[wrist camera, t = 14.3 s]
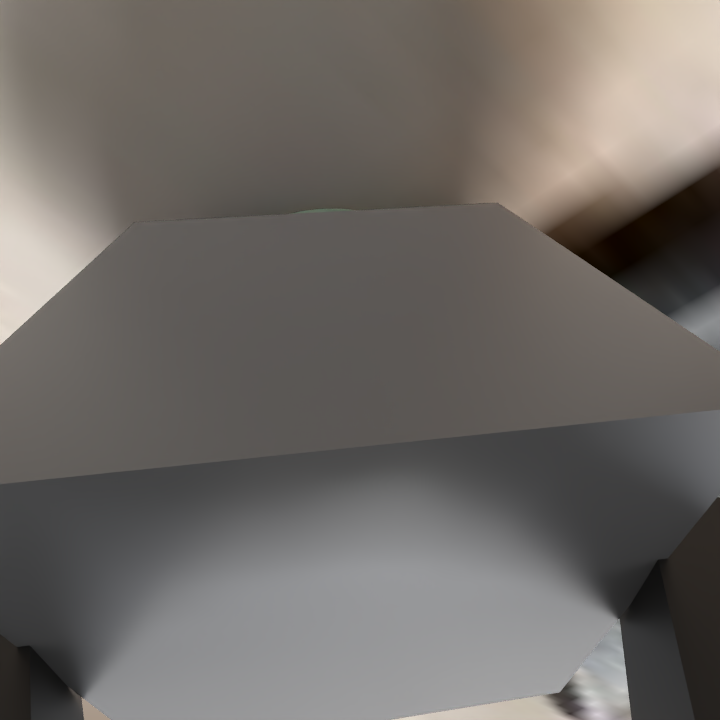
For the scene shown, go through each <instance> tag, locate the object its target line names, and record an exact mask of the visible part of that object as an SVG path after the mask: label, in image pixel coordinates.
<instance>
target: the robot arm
mask: <svg viewBox="0 0 720 720" xmlns="http://www.w3.org/2000/svg"><path fill="white" fill-rule="evenodd" d="M620 624H621V632H622V641H623V649H624V658H625V666H626V675H627V683H628V692H629V700H630V709H631V717H632V720H720V498H719V497H717V498H716V500H715V501H714V502H713V503H712V504H711V506H710V507H709V508H708V509H707V511H706V512H705V513H704V514H703V516H702V517H701V518H700V519H699V521H698V522H697V523H696V524H695V525H694V527H693V528H692V529H691V530H690V532H689V533H688V534H687V535H686V537H685V538H684V539H683V540H682V542H681V543H680V544H679V545H678V546H677V548H676V549H675V550H674V551H673V553H672V554H671V555H670V556H669V558H666V559H659V560H657V562H656V564H655V565H654V567H653V569H652V570H651V572H650V573H649V575H648V577H647V578H646V580H645V582H644V583H643V585H642V586H641V588H640V590H639V591H638V593H637V595H636V596H635V598H634V599H633V601H632V603H631V604H630V606H629V607H628V608H627V609H626V611H625V612H624V613H623V614H622V616H621V617H620ZM0 720H84V717H83V708H82V700H81V696H80V695H78V694H77V693H76V692H75V691H73V690H72V689H71V688H69V687H68V686H67V685H66V684H65V683H64V682H63V681H62V680H61V678H60V677H59V676H58V675H57V674H56V673H55V672H54V671H53V670H52V669H51V668H50V667H49V666H48V664H47V663H46V662H45V661H44V660H43V659H42V658H41V657H40V656H39V655H38V654H37V653H36V652H35V650H34V649H33V648H32V647H31V646H30V645H28V646H21V647H16V646H15V645H14V644H12V643H11V642H10V641H8V640H7V639H6V638H5V637H3V636H2V635H1V634H0Z"/></svg>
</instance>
